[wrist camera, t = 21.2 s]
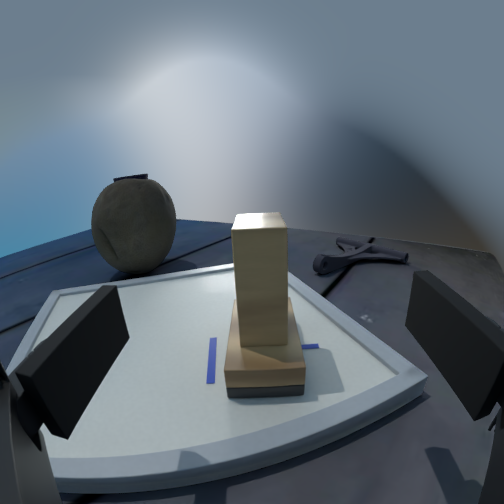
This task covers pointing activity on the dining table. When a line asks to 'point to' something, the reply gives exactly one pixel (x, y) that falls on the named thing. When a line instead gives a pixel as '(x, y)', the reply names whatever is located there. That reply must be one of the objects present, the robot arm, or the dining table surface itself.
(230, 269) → the board
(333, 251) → the dining table surface
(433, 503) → the dining table surface
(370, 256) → the bracket
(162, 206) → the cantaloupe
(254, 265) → the eraser
